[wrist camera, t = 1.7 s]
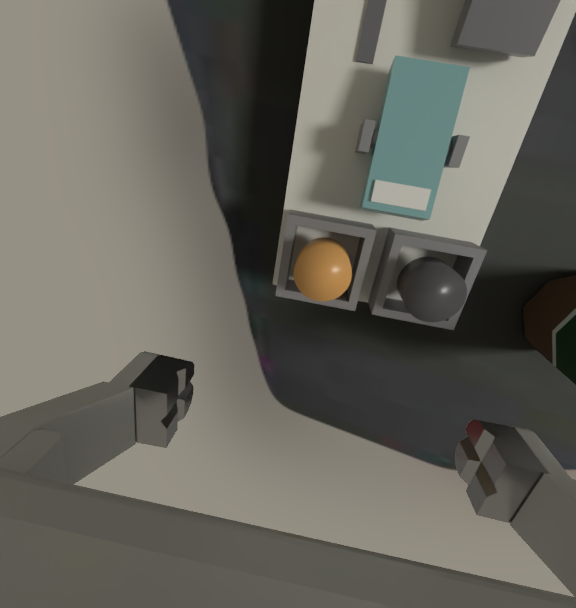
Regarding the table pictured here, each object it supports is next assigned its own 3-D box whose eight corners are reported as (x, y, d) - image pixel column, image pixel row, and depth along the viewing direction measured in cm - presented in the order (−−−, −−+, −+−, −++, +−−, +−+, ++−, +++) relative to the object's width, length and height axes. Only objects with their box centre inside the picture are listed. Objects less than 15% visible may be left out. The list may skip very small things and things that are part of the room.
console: (353, -211, 18) (366, -414, 12) (614, -180, 17) (777, -377, 11) (279, 269, 29) (266, 297, 23) (434, 298, 28) (463, 335, 22)
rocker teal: (385, 69, 19) (392, 53, 17) (461, 81, 19) (475, 66, 17) (355, 208, 21) (359, 206, 19) (424, 221, 20) (434, 219, 19)
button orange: (302, 232, 22) (298, 240, 19) (355, 242, 21) (358, 251, 19) (293, 282, 23) (289, 295, 21) (343, 292, 23) (344, 306, 21)
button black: (406, 252, 21) (415, 262, 19) (460, 262, 21) (476, 273, 19) (390, 301, 23) (397, 316, 20) (441, 310, 23) (454, 327, 20)
